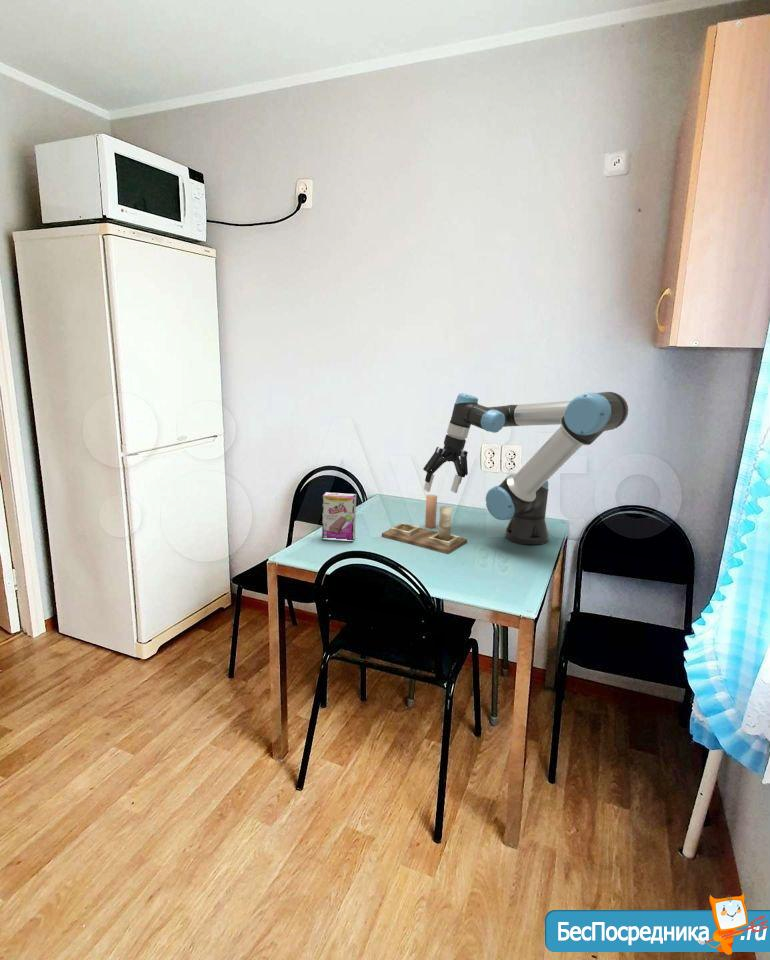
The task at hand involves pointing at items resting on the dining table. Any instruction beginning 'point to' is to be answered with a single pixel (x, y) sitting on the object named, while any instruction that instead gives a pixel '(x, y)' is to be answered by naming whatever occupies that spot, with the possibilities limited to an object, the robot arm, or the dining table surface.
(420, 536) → the board
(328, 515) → the candy bar box
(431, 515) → the peg
